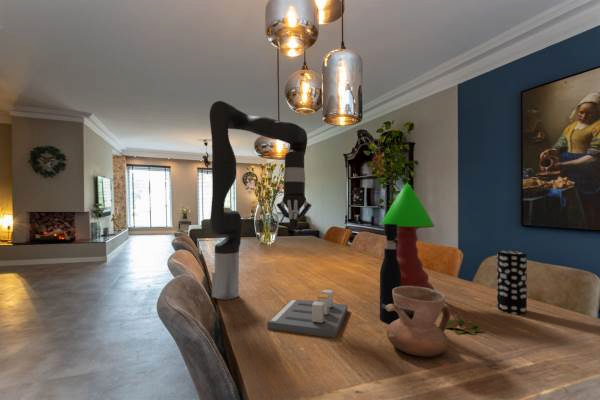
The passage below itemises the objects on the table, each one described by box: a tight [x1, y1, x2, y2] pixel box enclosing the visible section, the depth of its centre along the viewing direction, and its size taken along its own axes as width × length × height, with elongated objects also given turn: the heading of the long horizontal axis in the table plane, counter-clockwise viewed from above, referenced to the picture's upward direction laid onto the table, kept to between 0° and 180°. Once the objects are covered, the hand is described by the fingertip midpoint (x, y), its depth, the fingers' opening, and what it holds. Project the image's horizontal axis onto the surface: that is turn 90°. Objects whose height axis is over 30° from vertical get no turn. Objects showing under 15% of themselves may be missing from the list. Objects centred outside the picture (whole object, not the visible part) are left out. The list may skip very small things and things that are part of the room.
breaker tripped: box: [317, 293, 329, 315], centre depth 94 cm, size 3×3×5 cm
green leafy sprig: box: [446, 312, 485, 336], centre depth 89 cm, size 12×12×5 cm
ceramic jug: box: [385, 286, 452, 358], centre depth 76 cm, size 18×14×14 cm
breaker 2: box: [321, 289, 334, 308], centre depth 100 cm, size 3×3×5 cm
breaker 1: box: [312, 300, 325, 323], centre depth 87 cm, size 3×3×5 cm
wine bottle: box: [379, 224, 401, 325], centre depth 95 cm, size 6×6×30 cm
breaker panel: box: [266, 298, 348, 339], centre depth 95 cm, size 20×22×2 cm
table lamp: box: [380, 182, 435, 290], centre depth 117 cm, size 20×20×45 cm
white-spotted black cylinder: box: [496, 249, 528, 316], centre depth 104 cm, size 8×8×20 cm
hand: (293, 229), depth 107 cm, fingers closed
